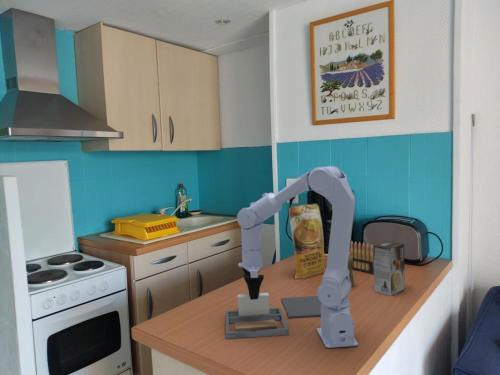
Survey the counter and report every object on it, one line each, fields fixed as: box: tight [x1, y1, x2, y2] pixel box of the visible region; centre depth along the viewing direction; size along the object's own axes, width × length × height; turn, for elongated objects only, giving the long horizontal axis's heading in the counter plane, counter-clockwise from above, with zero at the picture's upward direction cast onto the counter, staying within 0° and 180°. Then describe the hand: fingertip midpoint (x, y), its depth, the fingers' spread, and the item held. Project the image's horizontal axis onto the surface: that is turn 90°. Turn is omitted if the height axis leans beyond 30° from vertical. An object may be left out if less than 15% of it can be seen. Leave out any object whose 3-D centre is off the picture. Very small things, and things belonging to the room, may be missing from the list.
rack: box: [225, 307, 290, 340], centre depth 99 cm, size 14×17×2 cm
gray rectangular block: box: [237, 292, 270, 316], centre depth 104 cm, size 2×9×7 cm, turn 94°
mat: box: [280, 295, 321, 319], centre depth 110 cm, size 14×14×1 cm
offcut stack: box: [233, 320, 280, 332], centre depth 96 cm, size 4×12×2 cm, turn 95°
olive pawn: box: [347, 255, 355, 290], centre depth 127 cm, size 6×6×11 cm
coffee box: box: [373, 241, 405, 297], centre depth 121 cm, size 9×6×16 cm
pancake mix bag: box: [288, 203, 326, 280], centre depth 140 cm, size 7×19×28 cm, turn 125°
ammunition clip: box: [349, 240, 374, 275], centre depth 143 cm, size 11×2×12 cm, turn 43°
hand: (253, 293), depth 103 cm, fingers open, 7 cm apart
